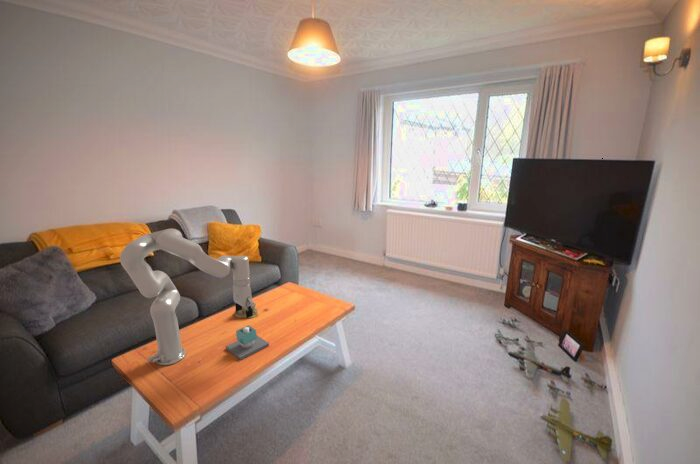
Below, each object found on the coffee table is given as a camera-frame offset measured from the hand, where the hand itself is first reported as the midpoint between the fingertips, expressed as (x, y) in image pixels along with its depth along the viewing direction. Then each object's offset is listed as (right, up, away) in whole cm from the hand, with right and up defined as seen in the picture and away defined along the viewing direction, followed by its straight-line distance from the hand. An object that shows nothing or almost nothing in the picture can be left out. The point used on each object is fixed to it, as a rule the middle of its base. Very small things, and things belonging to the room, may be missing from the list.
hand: (244, 313), depth 156 cm
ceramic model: (-11, -11, +38) cm, 41 cm away
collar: (0, -14, +3) cm, 14 cm away
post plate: (0, -18, +4) cm, 19 cm away
